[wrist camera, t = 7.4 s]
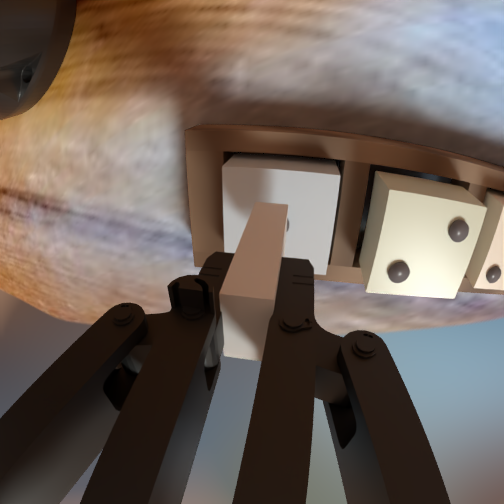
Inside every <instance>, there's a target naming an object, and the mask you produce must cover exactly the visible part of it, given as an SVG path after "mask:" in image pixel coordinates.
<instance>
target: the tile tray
mask: <svg viewBox="0 0 504 504" xmlns="http://www.w3.org/2000/svg"><path fill="white" fill-rule="evenodd" d="M185 147H186V166H187V182H188V197H189V210H190V223H191V234H192V245H193V256H194V265H195V267H203V265H204V263H205V261H206V259H207V258H208V257H209V256H210V255H212V254H213V253H214V252H216V251H217V252H224V223H223V185H222V166H223V165H224V164H225V163H226V162H227V161H228V160H229V159H230V158H231V157H232V156H233V152H256V153H273V154H287V155H299V156H310V157H321V158H330V159H339V169H338V170H339V173H340V184H339V192H338V200H337V207H336V214H335V221H334V228H333V235H332V241H331V247H330V254H329V260H328V265H327V271H326V275H319V274H314V279H315V280H326V281H336V282H347V283H358V284H364V281H363V277H362V272H361V268H360V263H359V258H360V253H361V249H359V248H356V246H357V241H358V236H359V230H360V225H361V220H362V214H363V208H364V202H365V196H366V190H367V183H368V177H369V170H370V164H376V165H383V166H389V167H395V168H401V169H407V170H412V171H418V172H423V173H428V174H433V175H438V176H443V177H447V178H452V181H451V184H452V185H457V186H461V187H463V188H465V189H466V190H467V191H468V192H470V193H471V194H472V195H473V196H474V197H476V198H477V199H478V200H479V201H480V202H481V203H483V201H484V197H485V193H486V189H487V187H489V188H493V189H497V190H500V191H504V167H501V166H498V165H495V164H492V163H488V162H485V161H482V160H478V159H475V158H471V157H467V156H464V155H460V154H456V153H452V152H448V151H444V150H440V149H436V148H431V147H427V146H422V145H417V144H412V143H407V142H402V141H397V140H391V139H386V138H380V137H373V136H367V135H360V134H353V133H345V132H337V131H329V130H319V129H308V128H297V127H282V126H264V125H228V124H208V125H197V126H195V127H192V128H190V129H187V130H185ZM457 292H471V293H486V294H503V295H504V290H494V289H480V288H473V286H472V284H471V283H470V281H469V280H468V278H467V276H466V275H464V277H463V279H462V282H461V284H460V287H459V289H458V291H457Z"/></svg>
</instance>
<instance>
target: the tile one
mask: <svg viewBox="0 0 504 504" xmlns="http://www.w3.org/2000/svg"><path fill="white" fill-rule="evenodd" d="M339 184H340V173H339V170H338V167H337V165H336V162H335V160H327V159H318V158H307V157H296V156H283V155H269V154H250V153H235V154H234V155H233V156H232V157H231V158H230V159H229V160H228V161H227V162H226V163H225V164H224V165H223V166H222V185H223V223H224V252H227V253H235V252H236V249H237V247H238V244H239V242H240V239H241V237H242V234H243V232H244V229H245V227H246V224H247V222H248V219H249V217H250V214H251V212H252V209H253V207H254V204H255V202H264V203H277V204H288V216H287V230H286V243H285V256H284V257H289V258H299V259H308V260H309V261H310V263H311V264H312V266H313V267H314V274H319V275H326V271H327V265H328V260H329V254H330V247H331V241H332V235H333V228H334V221H335V214H336V207H337V200H338V192H339Z"/></svg>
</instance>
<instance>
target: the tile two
mask: <svg viewBox="0 0 504 504" xmlns="http://www.w3.org/2000/svg"><path fill="white" fill-rule="evenodd" d="M486 211H487V207H486V206H485V205H484V204H483V203H481V202H480V201H479V200H478V199H477V198H476V197H474V196H473V195H472V194H471V193H470V192H468V191H467V190H466V189H465V188H463V187H461V186H457V185H452V184H448V183H443V182H438V181H433V180H428V179H422V178H417V177H412V176H406V175H400V174H394V173H387V172H381V171H375V178H374V184H373V190H372V196H371V202H370V208H369V213H368V219H367V224H366V229H365V234H364V239H363V244H362V249H361V253H360V258H359V263H360V268H361V272H362V277H363V281H364V286H365V291H366V292H370V293H382V294H395V295H408V296H422V297H437V298H453V299H454V298H455V296H456V293H457V291H458V289H459V287H460V284H461V282H462V279H463V277H464V275H465V272H466V270H467V267H468V264H469V262H470V259H471V256H472V254H473V251H474V248H475V245H476V242H477V240H478V237H479V234H480V230H481V227H482V224H483V221H484V218H485V214H486Z"/></svg>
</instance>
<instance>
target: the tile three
mask: <svg viewBox="0 0 504 504" xmlns="http://www.w3.org/2000/svg"><path fill="white" fill-rule="evenodd" d="M483 204H484V205H485V206H486V207H487V211H486V214H485V218H484V221H483V224H482V227H481V230H480V234H479V237H478V240H477V242H476V245H475V248H474V251H473V254H472V256H471V259H470V262H469V264H468V267H467V270H466V272H465V275H466V276H467V278H468V280H469V281H470V283H471V284H472V286H473V288H480V289H494V290H504V193H503V192H500V191H496V190H492V189H488V188H487V189H486V193H485V197H484V201H483Z"/></svg>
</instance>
